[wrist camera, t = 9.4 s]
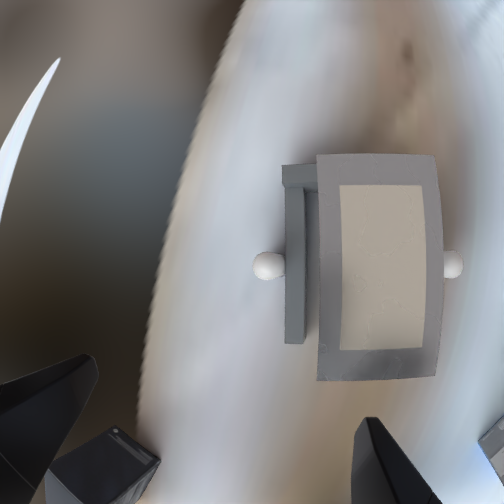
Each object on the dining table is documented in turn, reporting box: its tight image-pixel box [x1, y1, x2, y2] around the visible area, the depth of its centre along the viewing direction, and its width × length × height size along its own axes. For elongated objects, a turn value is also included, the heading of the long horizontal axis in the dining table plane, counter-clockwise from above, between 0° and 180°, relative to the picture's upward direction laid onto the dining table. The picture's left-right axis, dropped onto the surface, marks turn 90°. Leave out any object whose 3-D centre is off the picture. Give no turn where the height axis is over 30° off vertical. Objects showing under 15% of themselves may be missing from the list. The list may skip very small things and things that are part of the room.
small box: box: [45, 425, 161, 504], centre depth 18 cm, size 11×6×10 cm, turn 153°
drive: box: [316, 153, 444, 381], centre depth 14 cm, size 8×4×10 cm, turn 1°
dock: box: [253, 164, 464, 344], centre depth 17 cm, size 11×13×4 cm
